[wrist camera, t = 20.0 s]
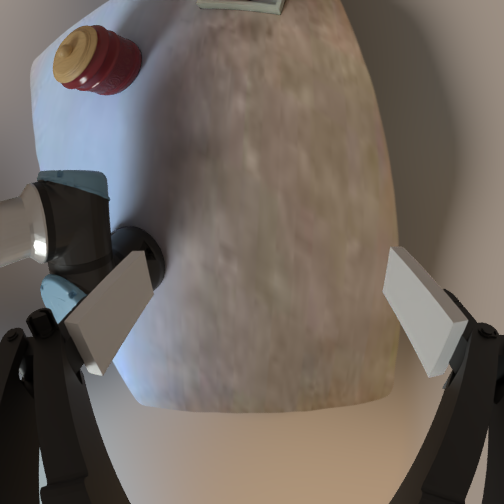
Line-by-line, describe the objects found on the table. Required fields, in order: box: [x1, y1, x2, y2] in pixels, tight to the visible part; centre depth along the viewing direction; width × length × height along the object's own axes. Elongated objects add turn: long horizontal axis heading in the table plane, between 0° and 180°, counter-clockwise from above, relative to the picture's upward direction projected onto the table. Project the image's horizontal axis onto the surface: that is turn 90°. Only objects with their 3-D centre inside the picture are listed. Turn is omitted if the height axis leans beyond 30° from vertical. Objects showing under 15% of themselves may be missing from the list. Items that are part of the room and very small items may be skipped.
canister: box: [53, 25, 142, 95], centre depth 35 cm, size 13×13×18 cm
